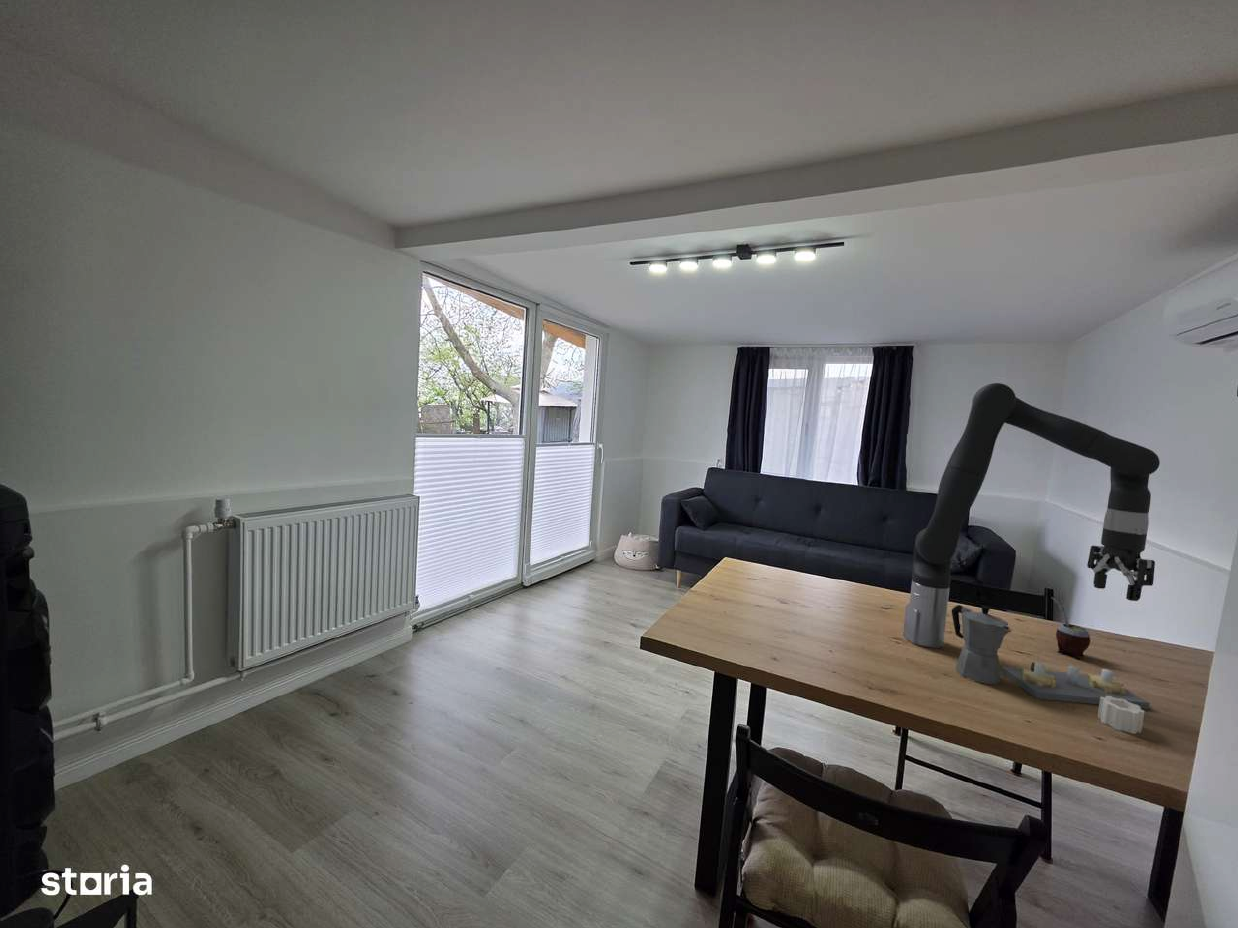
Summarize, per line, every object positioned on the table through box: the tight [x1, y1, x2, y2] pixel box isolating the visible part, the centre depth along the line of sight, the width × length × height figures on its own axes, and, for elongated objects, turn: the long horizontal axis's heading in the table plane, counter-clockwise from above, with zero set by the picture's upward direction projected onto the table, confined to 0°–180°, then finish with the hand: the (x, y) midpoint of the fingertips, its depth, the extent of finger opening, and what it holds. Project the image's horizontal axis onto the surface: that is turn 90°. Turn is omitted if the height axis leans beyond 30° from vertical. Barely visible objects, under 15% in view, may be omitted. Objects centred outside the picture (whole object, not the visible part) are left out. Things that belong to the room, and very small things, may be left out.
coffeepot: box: [951, 604, 1012, 685], centre depth 124 cm, size 15×9×18 cm, turn 13°
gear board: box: [1001, 661, 1151, 710], centre depth 119 cm, size 24×12×6 cm, turn 85°
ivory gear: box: [1097, 696, 1145, 735], centre depth 105 cm, size 7×7×4 cm
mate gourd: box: [1050, 596, 1091, 661], centre depth 139 cm, size 8×8×15 cm
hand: (1115, 593), depth 121 cm, fingers open, 8 cm apart
